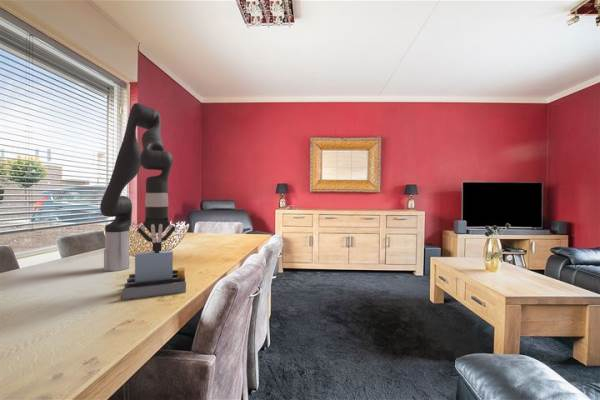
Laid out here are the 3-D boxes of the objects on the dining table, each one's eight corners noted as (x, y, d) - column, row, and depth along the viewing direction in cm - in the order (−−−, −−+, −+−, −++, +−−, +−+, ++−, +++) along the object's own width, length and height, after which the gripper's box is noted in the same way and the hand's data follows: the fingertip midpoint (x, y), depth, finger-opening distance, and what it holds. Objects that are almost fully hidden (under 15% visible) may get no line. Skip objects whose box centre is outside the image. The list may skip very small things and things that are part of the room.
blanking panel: (134, 288, 96) (135, 254, 96) (135, 286, 99) (135, 253, 98) (172, 284, 101) (172, 252, 101) (172, 281, 104) (172, 250, 104)
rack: (122, 300, 88) (122, 282, 88) (129, 283, 104) (129, 267, 104) (185, 292, 96) (186, 275, 96) (183, 277, 113) (183, 263, 113)
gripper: (176, 204, 106) (176, 249, 106) (137, 205, 100) (137, 252, 101) (177, 205, 99) (177, 253, 100) (134, 206, 93) (134, 256, 94)
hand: (157, 252), depth 100 cm, fingers closed
